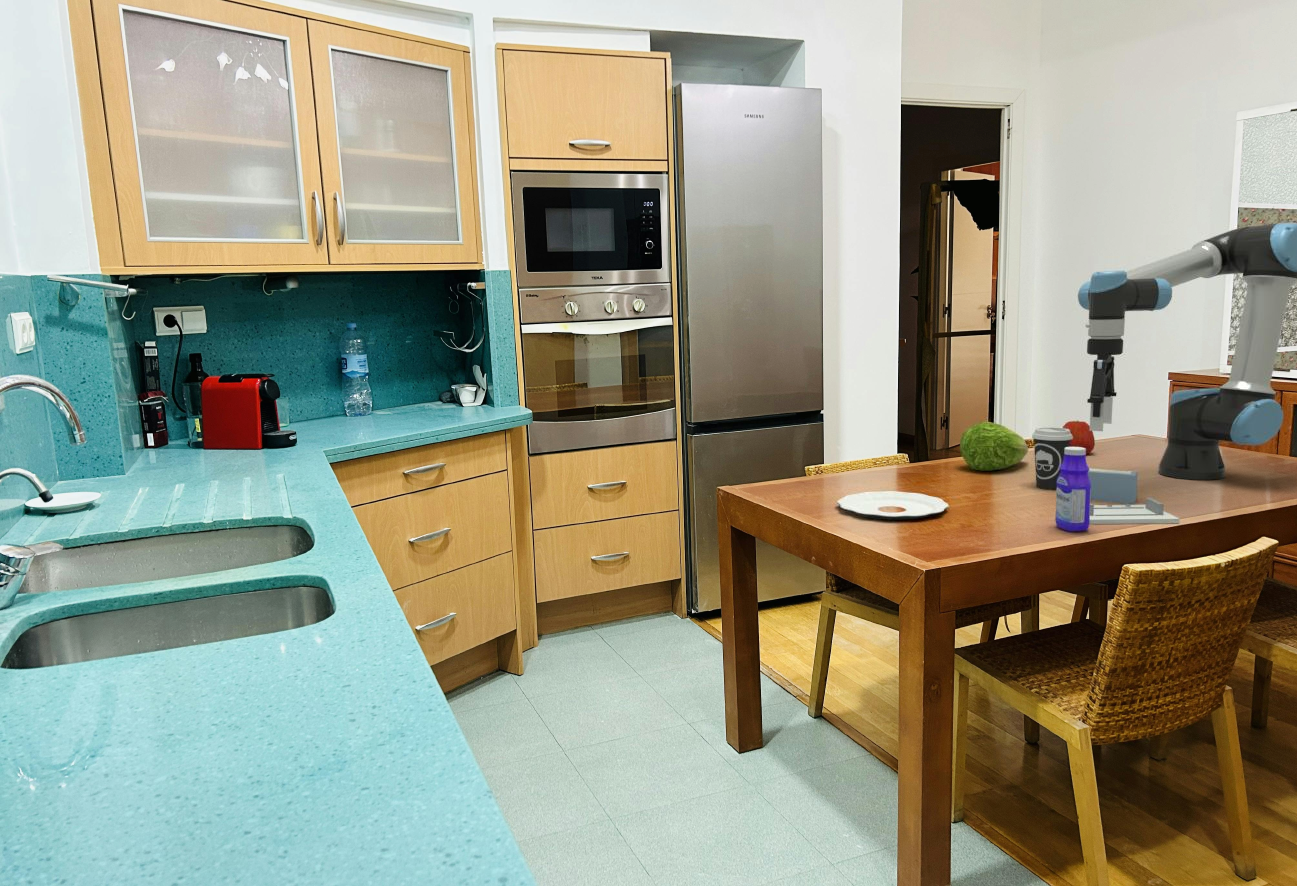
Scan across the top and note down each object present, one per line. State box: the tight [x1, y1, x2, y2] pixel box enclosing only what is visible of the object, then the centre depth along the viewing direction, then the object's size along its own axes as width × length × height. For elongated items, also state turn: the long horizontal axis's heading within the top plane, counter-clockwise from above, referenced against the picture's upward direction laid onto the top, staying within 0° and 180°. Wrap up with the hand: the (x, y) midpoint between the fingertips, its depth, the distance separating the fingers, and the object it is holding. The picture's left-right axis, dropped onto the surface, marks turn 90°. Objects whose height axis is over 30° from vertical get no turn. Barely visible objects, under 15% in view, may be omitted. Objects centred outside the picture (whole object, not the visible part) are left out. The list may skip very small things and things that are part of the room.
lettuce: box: [959, 421, 1029, 472], centre depth 252 cm, size 14×24×15 cm
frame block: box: [1088, 467, 1139, 505], centre depth 210 cm, size 12×5×7 cm, turn 55°
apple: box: [1062, 419, 1096, 455], centre depth 269 cm, size 10×10×10 cm
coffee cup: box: [1031, 426, 1073, 491], centre depth 225 cm, size 10×10×15 cm
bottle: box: [1054, 447, 1091, 532], centre depth 185 cm, size 7×6×17 cm
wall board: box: [1089, 497, 1180, 525], centre depth 195 cm, size 19×13×3 cm
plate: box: [836, 490, 950, 521], centre depth 208 cm, size 25×25×2 cm
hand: (1100, 427), depth 210 cm, fingers open, 13 cm apart
